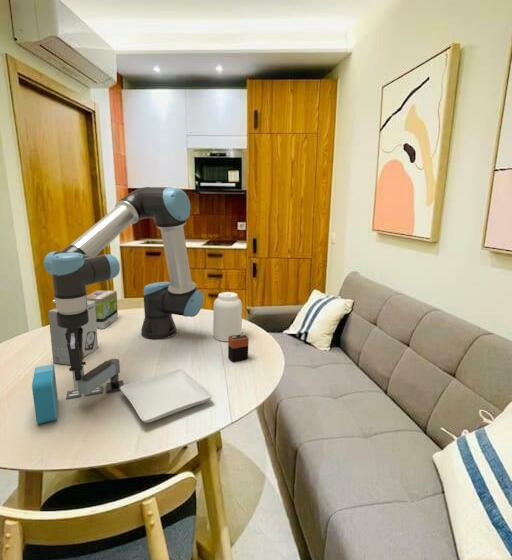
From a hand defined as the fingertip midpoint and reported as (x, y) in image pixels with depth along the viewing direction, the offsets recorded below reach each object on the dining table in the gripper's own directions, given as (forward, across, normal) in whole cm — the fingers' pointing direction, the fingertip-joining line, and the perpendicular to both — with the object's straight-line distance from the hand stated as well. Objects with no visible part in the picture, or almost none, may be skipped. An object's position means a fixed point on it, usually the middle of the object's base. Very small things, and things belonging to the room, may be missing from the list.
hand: (79, 388), depth 96 cm
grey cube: (+5, -6, +9) cm, 12 cm away
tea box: (+6, -70, +4) cm, 70 cm away
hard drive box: (+6, -36, -4) cm, 36 cm away
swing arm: (0, -2, +6) cm, 6 cm away
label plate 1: (+5, -6, -2) cm, 9 cm away
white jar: (+6, -35, +56) cm, 66 cm away
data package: (+6, +1, -8) cm, 10 cm away
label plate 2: (+5, -6, +3) cm, 9 cm away
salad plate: (+6, +5, +23) cm, 25 cm away
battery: (+6, -13, +53) cm, 55 cm away
